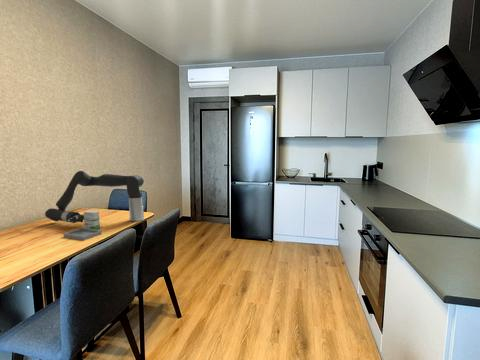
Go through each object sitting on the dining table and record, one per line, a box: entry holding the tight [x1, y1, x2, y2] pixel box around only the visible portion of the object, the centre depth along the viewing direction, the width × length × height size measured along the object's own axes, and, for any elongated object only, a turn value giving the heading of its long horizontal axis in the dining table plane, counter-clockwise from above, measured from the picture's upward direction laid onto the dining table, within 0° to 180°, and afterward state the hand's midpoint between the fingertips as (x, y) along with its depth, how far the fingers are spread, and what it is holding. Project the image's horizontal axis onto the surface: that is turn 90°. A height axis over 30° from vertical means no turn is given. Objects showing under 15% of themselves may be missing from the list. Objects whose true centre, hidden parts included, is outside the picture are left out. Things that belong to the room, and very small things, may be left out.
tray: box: [63, 227, 103, 241], centre depth 165 cm, size 13×17×2 cm
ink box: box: [83, 210, 101, 230], centre depth 178 cm, size 9×5×12 cm, turn 71°
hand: (88, 218), depth 179 cm, fingers open, 8 cm apart
